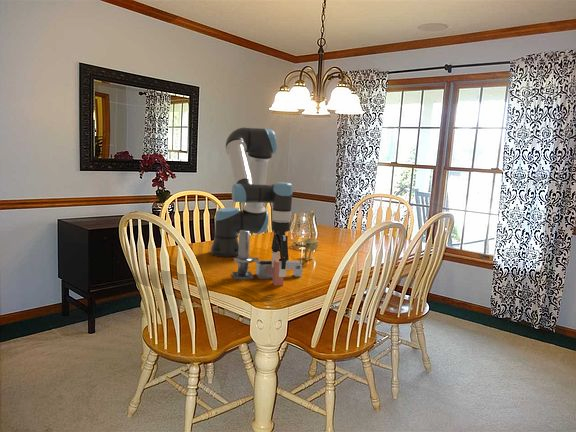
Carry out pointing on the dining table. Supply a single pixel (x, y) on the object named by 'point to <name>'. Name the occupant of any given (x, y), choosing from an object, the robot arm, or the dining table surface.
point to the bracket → (266, 269)
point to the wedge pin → (277, 274)
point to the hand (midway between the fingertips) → (278, 271)
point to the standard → (243, 257)
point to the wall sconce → (310, 240)
